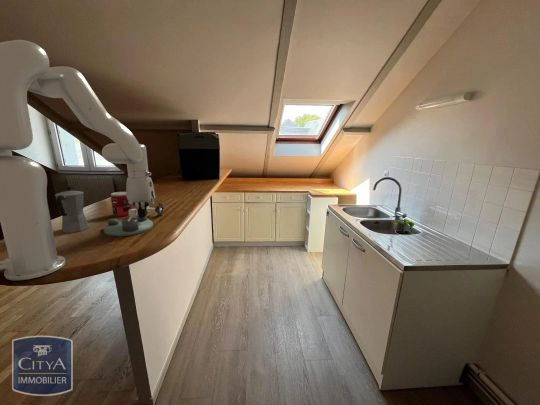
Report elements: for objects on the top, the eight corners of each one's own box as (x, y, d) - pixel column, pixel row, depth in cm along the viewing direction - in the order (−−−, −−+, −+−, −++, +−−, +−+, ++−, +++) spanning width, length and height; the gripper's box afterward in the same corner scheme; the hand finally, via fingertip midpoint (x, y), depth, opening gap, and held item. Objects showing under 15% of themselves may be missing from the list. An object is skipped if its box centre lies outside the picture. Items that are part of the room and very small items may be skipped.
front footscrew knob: (137, 230, 96) (136, 216, 95) (121, 232, 94) (119, 217, 93) (141, 221, 108) (140, 208, 106) (127, 222, 106) (125, 209, 104)
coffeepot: (70, 224, 106) (63, 183, 102) (95, 223, 108) (89, 183, 104) (49, 237, 92) (40, 190, 87) (78, 236, 94) (70, 190, 90)
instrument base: (104, 239, 91) (103, 230, 90) (103, 225, 105) (102, 218, 105) (156, 231, 101) (155, 223, 100) (149, 219, 115) (148, 212, 114)
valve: (134, 217, 119) (158, 217, 119) (132, 204, 117) (157, 204, 117) (141, 213, 125) (164, 214, 125) (140, 200, 124) (163, 201, 124)
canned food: (114, 213, 124) (111, 192, 121) (132, 212, 127) (130, 191, 124) (112, 217, 117) (109, 195, 114) (131, 216, 120) (128, 194, 118)
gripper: (160, 174, 104) (163, 215, 109) (126, 173, 105) (131, 214, 109) (151, 176, 97) (155, 220, 101) (114, 175, 97) (120, 219, 102)
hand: (142, 216), depth 105 cm, fingers closed
